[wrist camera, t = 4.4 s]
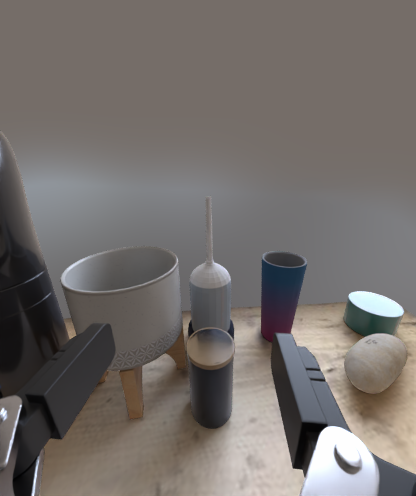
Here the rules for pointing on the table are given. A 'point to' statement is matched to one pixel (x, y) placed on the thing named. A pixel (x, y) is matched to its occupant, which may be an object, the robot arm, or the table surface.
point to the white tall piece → (210, 290)
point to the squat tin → (372, 314)
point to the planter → (130, 309)
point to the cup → (280, 291)
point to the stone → (375, 362)
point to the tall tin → (211, 375)
